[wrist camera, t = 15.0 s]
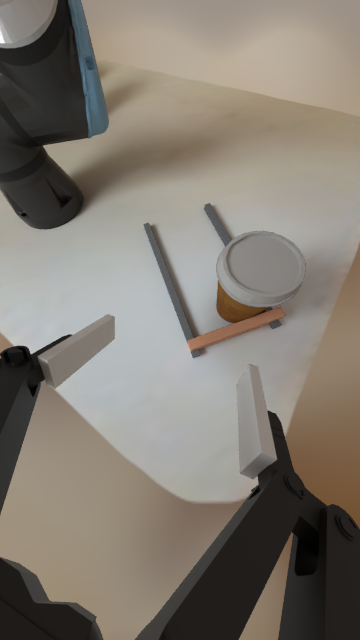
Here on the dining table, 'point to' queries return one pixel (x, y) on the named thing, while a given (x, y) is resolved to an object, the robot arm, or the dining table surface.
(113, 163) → the dining table surface
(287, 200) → the dining table surface
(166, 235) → the dining table surface
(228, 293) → the disposable coffee cup
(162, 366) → the dining table surface
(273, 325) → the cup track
